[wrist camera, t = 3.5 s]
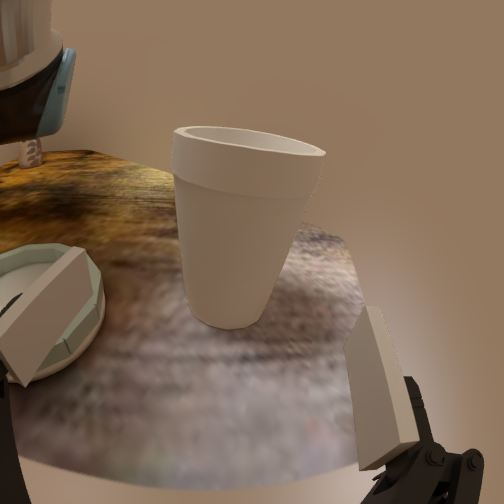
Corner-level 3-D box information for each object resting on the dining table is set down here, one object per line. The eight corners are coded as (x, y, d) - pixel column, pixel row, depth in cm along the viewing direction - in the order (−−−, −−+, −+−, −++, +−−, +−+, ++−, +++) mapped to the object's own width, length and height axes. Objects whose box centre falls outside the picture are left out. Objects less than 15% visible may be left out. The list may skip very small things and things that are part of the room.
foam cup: (232, 259, 29) (252, 128, 22) (304, 310, 23) (351, 157, 17) (147, 289, 22) (148, 127, 16) (216, 366, 17) (246, 155, 11)
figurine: (48, 162, 53) (48, 115, 47) (29, 169, 47) (27, 119, 41) (33, 161, 54) (32, 117, 48) (14, 168, 47) (12, 122, 41)
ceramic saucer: (-5, 263, 20) (-11, 245, 19) (111, 258, 25) (109, 239, 24) (-55, 370, 8) (-69, 351, 7) (102, 387, 14) (93, 368, 13)
